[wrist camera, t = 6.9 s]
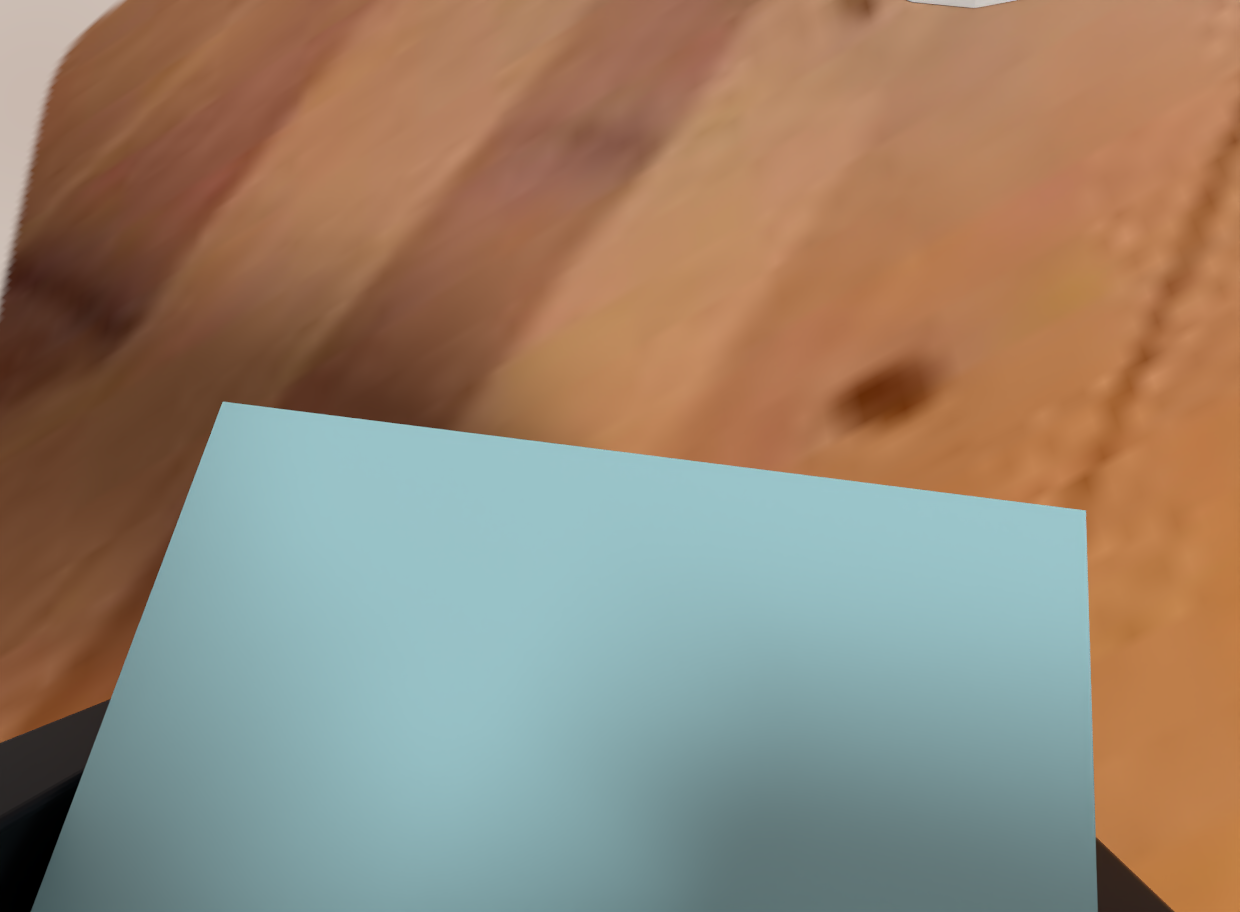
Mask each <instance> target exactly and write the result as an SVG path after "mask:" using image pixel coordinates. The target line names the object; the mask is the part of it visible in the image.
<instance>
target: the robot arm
mask: <svg viewBox="0 0 1240 912" xmlns="http://www.w3.org/2000/svg"><path fill="white" fill-rule="evenodd" d="M110 700H111V699H110ZM110 700H107V701H105V702H102V703H100V704H97V705H95V706H92V707H90V708H87V709H85V710H82V711H80V712H77V713H75V714H72V715H70V716H67V717H65V718H62V719H60V720H57V721H55V722H52V723H50V724H47V725H45V726H42V727H40V728H37V729H34V730H32V731H29V732H27V733H24V734H22V735H19V736H17V737H14V738H12V739H9V740H7V741H4V742H2V743H0V912H31V910H32V907H33V905H34V902H35V899H36V897H37V894H38V891H39V889H40V886H41V883H42V881H43V878H44V875H45V873H46V870H47V867H48V865H49V862H50V859H51V857H52V854H53V851H54V849H55V846H56V843H57V841H58V838H59V835H60V833H61V830H62V827H63V825H64V822H65V819H66V817H67V814H68V812H69V809H70V806H71V804H72V801H73V798H74V796H75V793H76V790H77V788H78V785H79V782H80V780H81V777H82V774H83V772H84V769H85V766H86V764H87V761H88V758H89V756H90V753H91V750H92V748H93V745H94V742H95V740H96V737H97V734H98V732H99V729H100V727H101V724H102V721H103V719H104V716H105V713H106V711H107V708H108V705H109V703H110ZM1096 870H1097V903H1098V912H1174V911H1173V910H1172V909H1171V908H1170V907H1169V906H1168V905H1167V904H1166V903H1165V902H1164V901H1163V900H1162V899H1161V898H1160V897H1158V896H1157V895H1156V894H1155V893H1154V892H1153V891H1152V890H1151V889H1150V888H1149V887H1148V886H1147V885H1146V884H1145V883H1144V882H1143V881H1142V880H1141V879H1140V878H1139V877H1137V876H1136V875H1135V874H1134V873H1133V872H1132V871H1131V870H1130V869H1129V868H1128V867H1127V866H1126V865H1125V864H1124V863H1123V862H1122V861H1121V860H1120V859H1119V858H1117V857H1116V856H1115V855H1114V854H1113V853H1112V852H1111V851H1110V850H1109V849H1108V848H1107V847H1106V846H1105V845H1104V844H1103V843H1102V842H1101V841H1100V840H1099V839H1098V838H1096Z"/></svg>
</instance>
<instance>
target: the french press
mask: <svg viewBox="0 0 1240 912" xmlns="http://www.w3.org/2000/svg"><path fill="white" fill-rule="evenodd" d="M908 1H911V2H918V3H928V4H939V5H949V6H959V7H969V8H977V7H983V6H988V5H993V4H999V3H1004V2H1010V1H1015V0H908Z"/></svg>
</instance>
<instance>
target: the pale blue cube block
mask: <svg viewBox="0 0 1240 912" xmlns="http://www.w3.org/2000/svg"><path fill="white" fill-rule="evenodd" d="M31 912H1098V903H1097V870H1096V836H1095V803H1094V770H1093V737H1092V703H1091V670H1090V637H1089V604H1088V570H1087V537H1086V511H1085V510H1077V509H1069V508H1061V507H1053V506H1045V505H1037V504H1029V503H1021V502H1014V501H1006V500H998V499H990V498H982V497H974V496H966V495H958V494H950V493H942V492H934V491H926V490H919V489H911V488H903V487H895V486H887V485H879V484H871V483H863V482H855V481H847V480H839V479H832V478H824V477H816V476H808V475H800V474H792V473H784V472H776V471H768V470H760V469H752V468H744V467H737V466H729V465H721V464H713V463H705V462H697V461H689V460H681V459H673V458H665V457H657V456H650V455H642V454H634V453H626V452H618V451H610V450H602V449H594V448H586V447H578V446H570V445H562V444H555V443H547V442H539V441H531V440H523V439H515V438H507V437H499V436H491V435H483V434H475V433H468V432H460V431H452V430H444V429H436V428H428V427H420V426H412V425H404V424H396V423H388V422H381V421H373V420H365V419H357V418H349V417H341V416H333V415H325V414H317V413H309V412H301V411H293V410H286V409H278V408H270V407H262V406H254V405H246V404H238V403H230V402H222V405H221V408H220V410H219V413H218V416H217V418H216V421H215V424H214V426H213V429H212V432H211V434H210V437H209V440H208V442H207V445H206V448H205V450H204V453H203V456H202V458H201V461H200V464H199V466H198V469H197V471H196V474H195V477H194V479H193V482H192V485H191V487H190V490H189V493H188V495H187V498H186V501H185V503H184V506H183V509H182V511H181V514H180V517H179V519H178V522H177V525H176V527H175V530H174V533H173V535H172V538H171V541H170V543H169V546H168V549H167V551H166V554H165V556H164V559H163V562H162V564H161V567H160V570H159V572H158V575H157V578H156V580H155V583H154V586H153V588H152V591H151V594H150V596H149V599H148V602H147V604H146V607H145V610H144V612H143V615H142V618H141V620H140V623H139V626H138V628H137V631H136V634H135V636H134V639H133V642H132V644H131V647H130V649H129V652H128V655H127V657H126V660H125V663H124V665H123V668H122V671H121V673H120V676H119V679H118V681H117V684H116V687H115V689H114V692H113V695H112V697H111V700H110V703H109V705H108V708H107V711H106V713H105V716H104V719H103V721H102V724H101V727H100V729H99V732H98V734H97V737H96V740H95V742H94V745H93V748H92V750H91V753H90V756H89V758H88V761H87V764H86V766H85V769H84V772H83V774H82V777H81V780H80V782H79V785H78V788H77V790H76V793H75V796H74V798H73V801H72V804H71V806H70V809H69V812H68V814H67V817H66V819H65V822H64V825H63V827H62V830H61V833H60V835H59V838H58V841H57V843H56V846H55V849H54V851H53V854H52V857H51V859H50V862H49V865H48V867H47V870H46V873H45V875H44V878H43V881H42V883H41V886H40V889H39V891H38V894H37V897H36V899H35V902H34V905H33V907H32V910H31Z"/></svg>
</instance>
